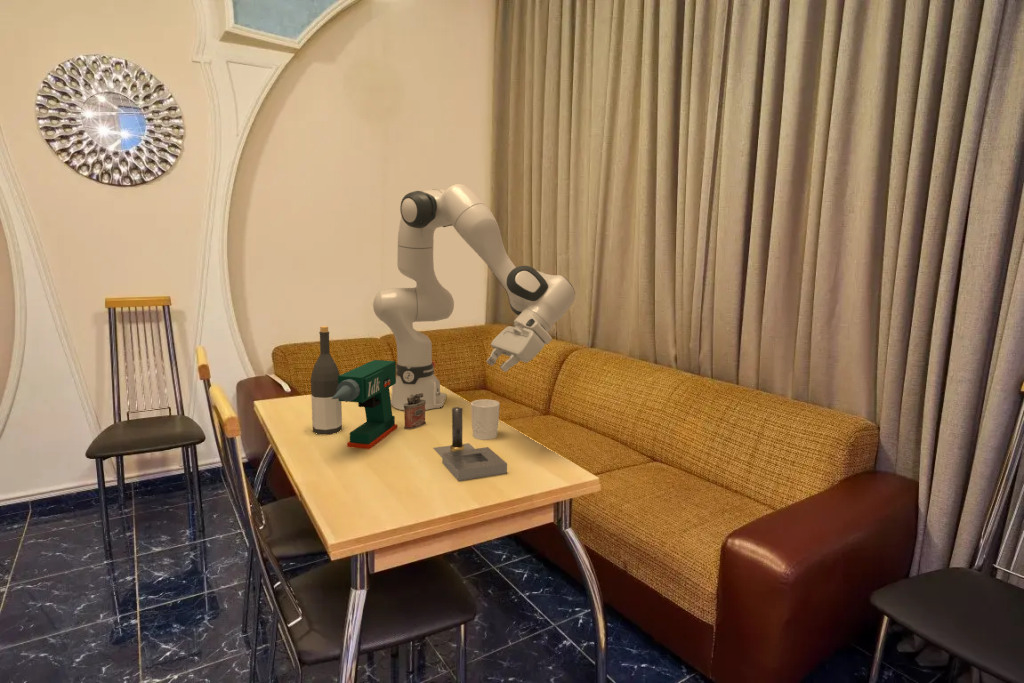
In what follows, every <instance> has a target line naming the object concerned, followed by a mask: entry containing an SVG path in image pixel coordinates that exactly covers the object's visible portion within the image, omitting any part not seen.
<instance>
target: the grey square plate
mask: <svg viewBox="0 0 1024 683" xmlns="http://www.w3.org/2000/svg"><path fill="white" fill-rule="evenodd" d="M462 444H463V445H464V450H470V449H476V448H475V447H474V446H473V445H472V444H470V443H469V442H468V443H462ZM450 446H451V445H445V446H437V447H433V450H434V451H435V452H436V453H437V454H438V456H440V458H442V453H448V452H450Z"/></svg>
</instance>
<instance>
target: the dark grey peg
mask: <svg viewBox="0 0 1024 683" xmlns="http://www.w3.org/2000/svg"><path fill="white" fill-rule="evenodd" d="M451 410H452V411H451V413H452V415H451V417H452V418H451V419H452V420H451V423H452V424H451V426H452V429H451V432H452V433H451V434H452V435H451V444H450V445H449V446H450V452H455V451H463V450H464V445H463V444H464V443H463V411H464V410H463V407H461V406H455V407H452V408H451Z"/></svg>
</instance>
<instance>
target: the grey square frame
mask: <svg viewBox="0 0 1024 683" xmlns="http://www.w3.org/2000/svg"><path fill="white" fill-rule="evenodd" d="M441 458H442V459H441V460H442V463H441V464H442V465H443V466H444V467H445V468H446V469H447V470H448V471H449V473H450V474H451V475H452V476H453V477H454V478H455V479H456V480H457V482H464V481H469V480H475V479H483V478H487V477H489V478H490V477H496V476H502V475H507V474H508V463H507V462H506V461H505V460H504V459H503V458H501V457H500V456H499V455H498V454H497V453H496V452H495V451H494V450H492V449H491V448H490V447H488V446H485V447H477V448H475V449H470V450H463V451H455V452H448V453H442V457H441Z"/></svg>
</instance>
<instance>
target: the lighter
mask: <svg viewBox="0 0 1024 683" xmlns="http://www.w3.org/2000/svg"><path fill="white" fill-rule="evenodd" d="M422 397H423V393H417V394H416V395H415V394H411V395H410V396H409V397H407V401H408V403H406V404H404V410H403V411H404V427H403V430H408V431H409V430H413V429H417V428H420V427H423V426H425V425H426V424H427V422H426V410H425V404H426V400H420V398H422Z"/></svg>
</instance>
